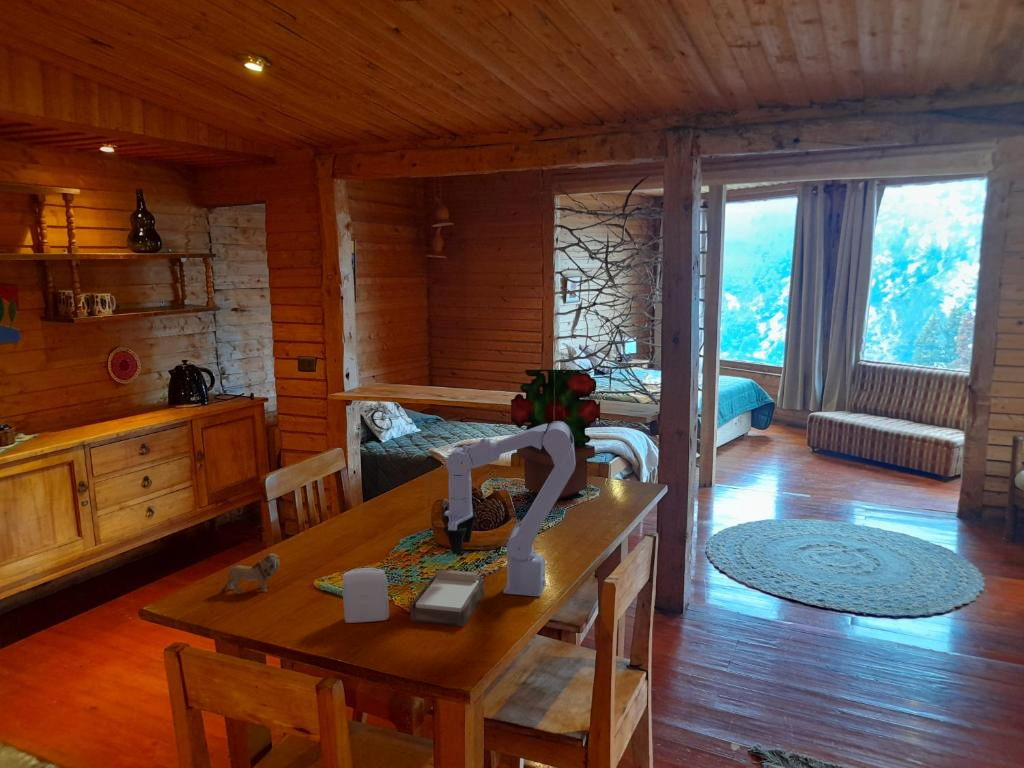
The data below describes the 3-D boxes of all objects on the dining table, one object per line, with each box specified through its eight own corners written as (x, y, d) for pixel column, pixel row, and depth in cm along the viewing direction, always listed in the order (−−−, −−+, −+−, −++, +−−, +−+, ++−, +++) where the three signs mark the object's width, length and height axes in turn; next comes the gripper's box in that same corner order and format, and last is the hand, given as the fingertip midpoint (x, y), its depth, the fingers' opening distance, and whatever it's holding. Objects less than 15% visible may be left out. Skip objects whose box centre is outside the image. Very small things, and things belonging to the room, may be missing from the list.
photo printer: (343, 624, 168) (340, 574, 166) (345, 616, 172) (342, 566, 170) (388, 622, 169) (386, 571, 167) (389, 613, 173) (387, 564, 171)
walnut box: (435, 589, 185) (434, 574, 184) (484, 594, 182) (484, 579, 181) (410, 621, 169) (409, 605, 168) (464, 626, 166) (463, 610, 165)
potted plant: (557, 481, 276) (556, 363, 269) (599, 494, 259) (600, 369, 252) (512, 493, 262) (510, 369, 255) (554, 508, 246) (553, 376, 238)
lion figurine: (281, 582, 191) (279, 549, 190) (281, 590, 186) (278, 557, 184) (222, 589, 187) (219, 556, 186) (219, 598, 182) (216, 564, 181)
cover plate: (437, 580, 183) (436, 569, 183) (479, 584, 181) (478, 572, 180) (415, 607, 169) (415, 595, 168) (461, 612, 166) (460, 599, 166)
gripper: (453, 486, 191) (454, 536, 193) (435, 504, 177) (437, 557, 179) (479, 488, 189) (480, 538, 191) (463, 506, 175) (464, 559, 177)
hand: (461, 547), depth 185 cm, fingers open, 7 cm apart
